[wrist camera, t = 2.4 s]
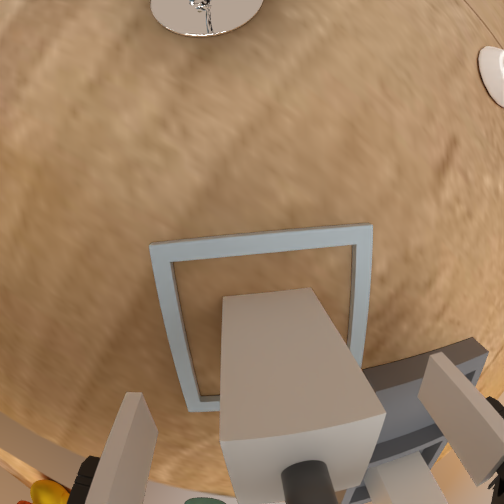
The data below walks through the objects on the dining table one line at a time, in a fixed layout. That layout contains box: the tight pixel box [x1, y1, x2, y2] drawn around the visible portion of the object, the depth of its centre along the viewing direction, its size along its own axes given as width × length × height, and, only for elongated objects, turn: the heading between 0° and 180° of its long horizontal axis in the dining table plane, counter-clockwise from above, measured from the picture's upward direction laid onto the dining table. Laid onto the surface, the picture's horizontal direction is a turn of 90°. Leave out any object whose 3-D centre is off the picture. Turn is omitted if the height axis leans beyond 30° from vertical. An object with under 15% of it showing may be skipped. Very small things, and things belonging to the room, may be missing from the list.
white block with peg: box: [220, 287, 386, 504], centre depth 12 cm, size 5×5×12 cm
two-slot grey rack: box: [335, 337, 489, 504], centre depth 21 cm, size 11×21×2 cm, turn 5°
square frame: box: [149, 223, 373, 412], centre depth 17 cm, size 12×12×1 cm
